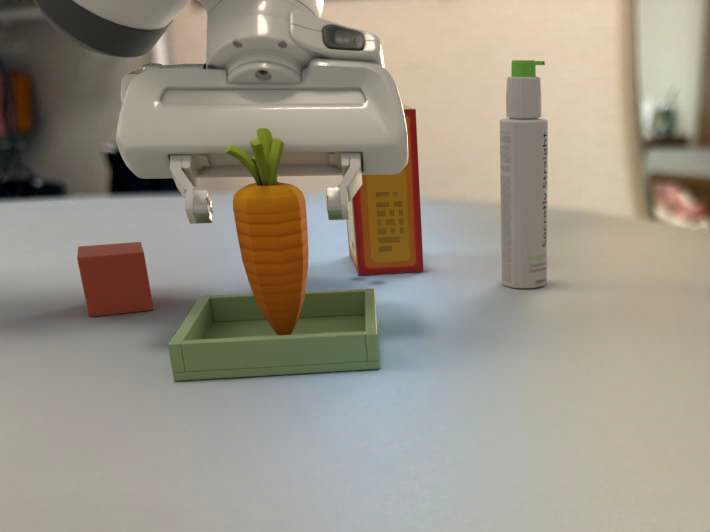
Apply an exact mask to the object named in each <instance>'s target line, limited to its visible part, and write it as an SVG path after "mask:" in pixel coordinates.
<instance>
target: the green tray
mask: <svg viewBox="0 0 710 532" xmlns="http://www.w3.org/2000/svg"><path fill="white" fill-rule="evenodd" d="M377 316H378V315H377V302H376V289H375V288H360V289H359V288H358V289H357V288H354V289H331V290H309V291H308V290H307V291H305V297H304V301H303V305H302V308H301V312H300V315H299V318H298V320H297V323H296V325H295V328H294V330H293V332H292V333H291V335H277V334H276V333H275V331H274V330H273V328H272V327H271V326H270V324H269V323H268V321H267V320H266V319H265V317H264V315H263V313H262V311H261V310H260V308H259V306H258V304H257V302H256V300H255V297H254V295H253V293H239V294H213V295H200V296H199V298H198V299H197V300H196V302H195V304H194V305H193V307H192V308H191V310H190V311H189V312H188V314H187V316H186V317H185V318H184V320H183V322H182V323H181V325H180V326H179V327H178V329H177V330H176V331H175V333H174V335H173V337H171V339H170V341H169V342H168V343H167V348H168V353H169V360H170V365H171V371H172V377H173V381H174V382H181V381H182V382H183V381H184V382H185V381H197V380H198V381H199V380H216V379H235V378H251V377H268V376H282V375H299V374H302V375H303V374H314V373H315V374H316V373H317V374H319V373H334V372H350V371H353V372H354V371H367V370H369V371H370V370H380V351H379V334H378V333H379V332H378V317H377Z"/></svg>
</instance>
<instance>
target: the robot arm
mask: <svg viewBox="0 0 710 532" xmlns="http://www.w3.org/2000/svg"><path fill="white" fill-rule="evenodd" d="M196 1H197V2H198V3H200V4H201V5H202V7H203V8H204V9H205V12H206V50H205V51H206V52H205V57H206V58H205V59H206V60H205V63H176V64H162V63H146V64H143V65H142V68H140V69H136V70H133V71H132V72H130V73H127V74H125V75H124V76H122V79H121V84H120V95H119V96H120V97H119V99H120V100H119V101H120V104H121V107H120V111H119V114H118V119H117V126H116V132H115V133H116V134H115V142H116V146H117V149H118V152H119V154H120V156H121V158H122V160H123V162H124V164H125V165H126V167H127V168H128V169H129V170H130V172H132V174H134V175H135V176H136V177H137V178H139V179H143V180H145V179H146V180H149V179H150V180H154V179H155V180H156V179H173V181H174V183H175V186H176V189H177V190H178V192H180V194H181V195H182V197H183V198H184V199H185V204H184V205H185V207H184V208H185V213H186V217H187V219H188V221H189V224H190V225H195V224H197V225H198V224H213V223H214V217H213V214H214V203H213V201H212V199H211V195H210V191H209V189H196V187H197V186H198V179H207V178H208V179H209V178H215V179H216V178H253V176H252V174H251V173H250V171H249V170H248V169H247V168H246V167H245V165H244V164H243V163H242V162H240V161H239V160H238V159H237V158H235V157H233V156H231V155H229V154H228V153H226V149H227V147H228V146H230V145H232V146H235V147H238V148H239V149H241V150H243V151H244V152H245V153H246V154H247V155H248V156H249V157H250V158H251V159H252V158H253V156H254V153H253V150H252V147H251V143H250V141H251V140H253V139H258V136H257V130H258V129H259V128H267V129H268V130H269V131H270V132H271V135H272V138H273V139H274V138H279V139H280V140H281V141H282V142H283V143H284V146H283V151H282V155H281V159H280V162H279V165H278V169H277V177H318V176H319V177H322V176H324V177H326V176H327V177H328V176H329V177H330V176H342V178H341V180H340V181H339V183H338V185H337V186H332V187H331V186H330V187H325V195H326V211H327V218H328V221H347V220H349V204H348V202H350V201H351V200H352V198H353V197H354V195H355V194H356V193H357V191H358V190H359V188H360V187H361V185H362V175H394V174H398V173H400V172H401V171H402V170H403V168H404V167H405V166H406V165H407V163H408V136H407V127H406V120H405V115H404V110H403V106H402V105H403V101H402V98H401V95H400V92H399V88H398V85H397V83H396V80H395V78H394V77H393V75H392V74H391V73H390V71H389V70H388V69H386V65H385V59H384V58H385V57H384V52H383V47H382V43H381V39H380V38H379V36H377V34H375V33H373V32H371V31H366V30H363V29H358V28H355V27H351V26H348V25H343V24H339V23H337V22H334V21H331V20H328V19H325V18H322V14H323V11H324V6H325V0H196ZM33 2H34V4H35V6H36V7H37V9H38V10H39V11H40V13H41V15H42V16H43V17H44V18H45V20H46V21H47V22H48V24H50V25H51V26H52V27H53V28H54V30H56V31H57V32H58V33H59V34H60V35H61V36H62V37H64V38H65V39H67V40H68V41H70V42H71V43H73V44H74V45H77V46H78V47H81V48H82V49H84V50H87V51H90V52H93V53H96V54H100V55H103V56H107V57H114V58H124V59H125V58H127V59H129V58H139V57H142V56H145V55H147V54H148V53H150V52H151V51H152V50H153V48H154V47H155V46H156V45H157V43H158V42H159V41H160V39H161V38H162V37H163V36H164V34H165V33H166V31H168V29H169V27H170V26H171V25H172V23H173V21H174V19H176V17H177V16H178V15H179V14H180V13H181V12H182V11H183V10H184V9H185V8H186V7H187V6H188V4H189V3H191V2H192V0H33Z"/></svg>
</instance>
